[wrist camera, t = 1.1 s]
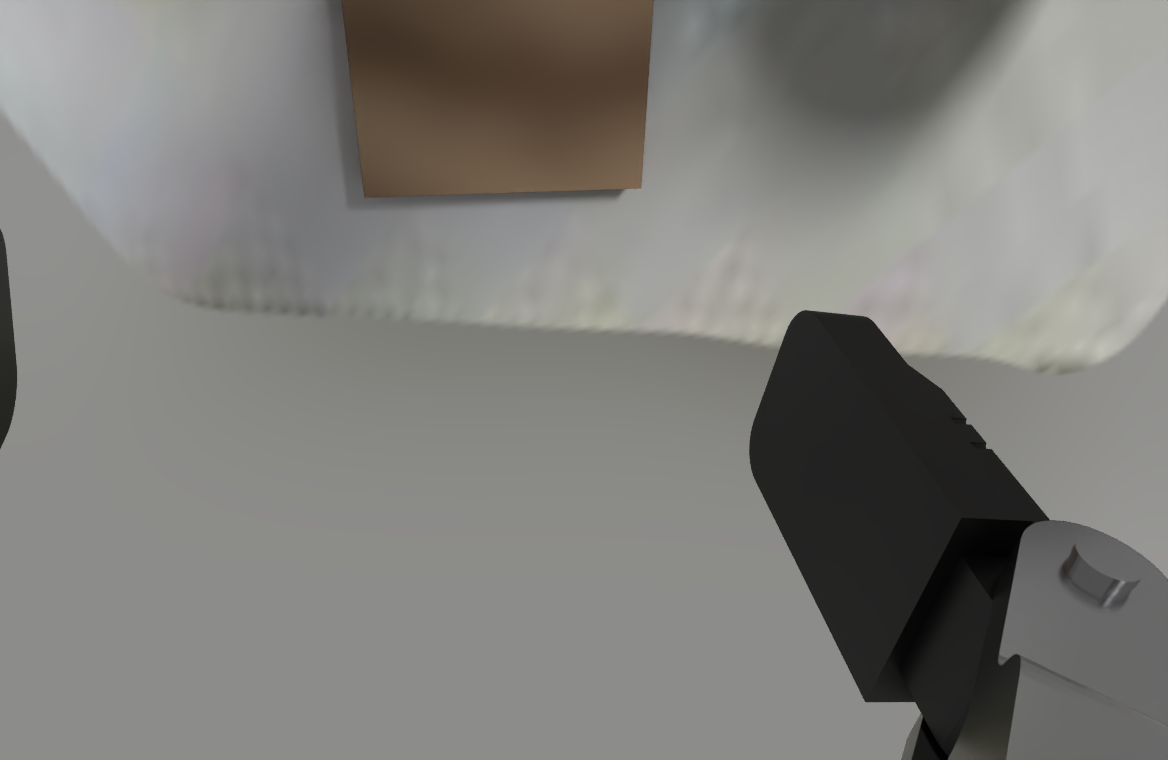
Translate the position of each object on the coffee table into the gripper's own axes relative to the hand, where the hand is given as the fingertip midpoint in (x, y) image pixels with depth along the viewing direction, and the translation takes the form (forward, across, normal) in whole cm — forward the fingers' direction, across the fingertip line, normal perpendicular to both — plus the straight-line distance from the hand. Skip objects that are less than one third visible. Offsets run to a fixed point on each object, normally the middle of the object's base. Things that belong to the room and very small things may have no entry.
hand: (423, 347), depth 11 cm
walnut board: (+23, -4, +3) cm, 23 cm away
